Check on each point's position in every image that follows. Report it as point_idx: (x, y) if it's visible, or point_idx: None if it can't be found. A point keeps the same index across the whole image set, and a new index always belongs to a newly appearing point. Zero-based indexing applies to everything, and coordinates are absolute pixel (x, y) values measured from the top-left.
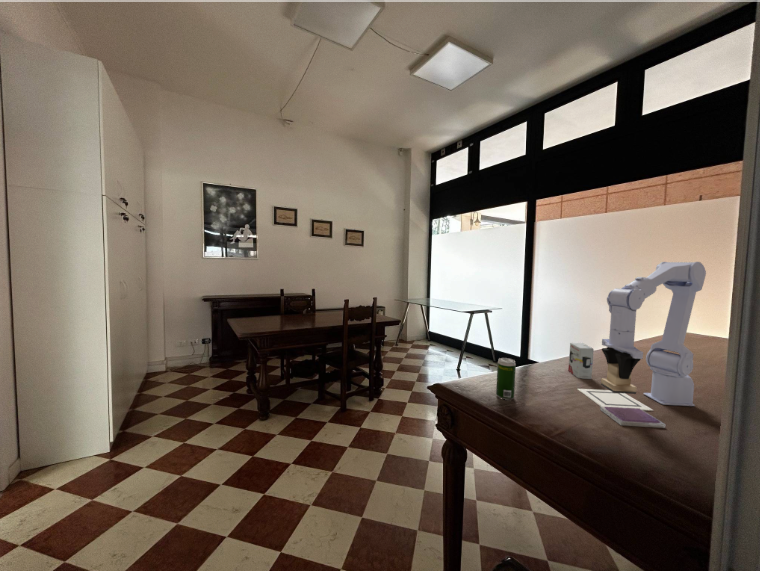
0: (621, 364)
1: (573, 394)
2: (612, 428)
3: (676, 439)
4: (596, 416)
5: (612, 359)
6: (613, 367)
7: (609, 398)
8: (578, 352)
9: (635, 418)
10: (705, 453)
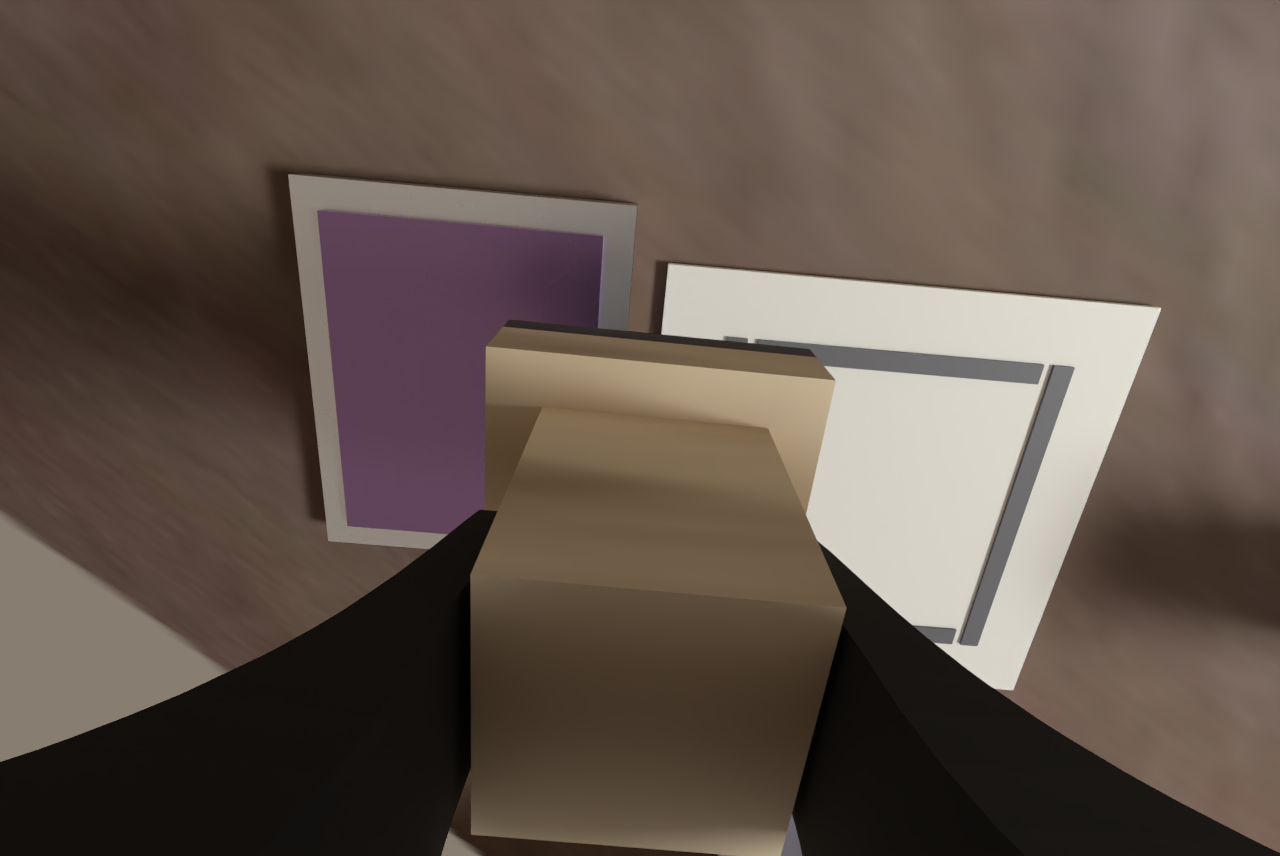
0: (238, 674)
1: (1038, 160)
2: (219, 27)
3: (166, 464)
4: (472, 39)
5: (869, 795)
6: (615, 567)
7: (866, 478)
8: None
9: (364, 361)
10: (8, 497)
